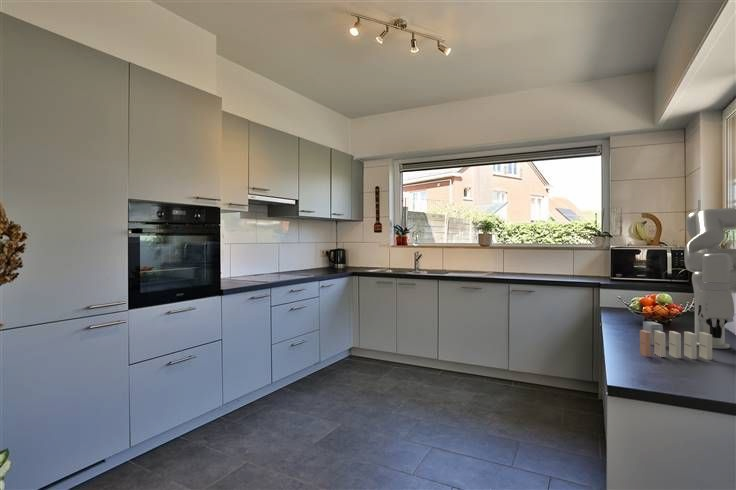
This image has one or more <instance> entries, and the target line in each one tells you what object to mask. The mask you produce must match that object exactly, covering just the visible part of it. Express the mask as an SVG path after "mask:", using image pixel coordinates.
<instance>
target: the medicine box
mask: <svg viewBox="0 0 736 490" xmlns="http://www.w3.org/2000/svg"><path fill="white" fill-rule="evenodd" d="M642 330H645V331H648V332H650V346H654V331H661V332H664V326H663V324H661V323H658V322H655V321H642Z"/></svg>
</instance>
